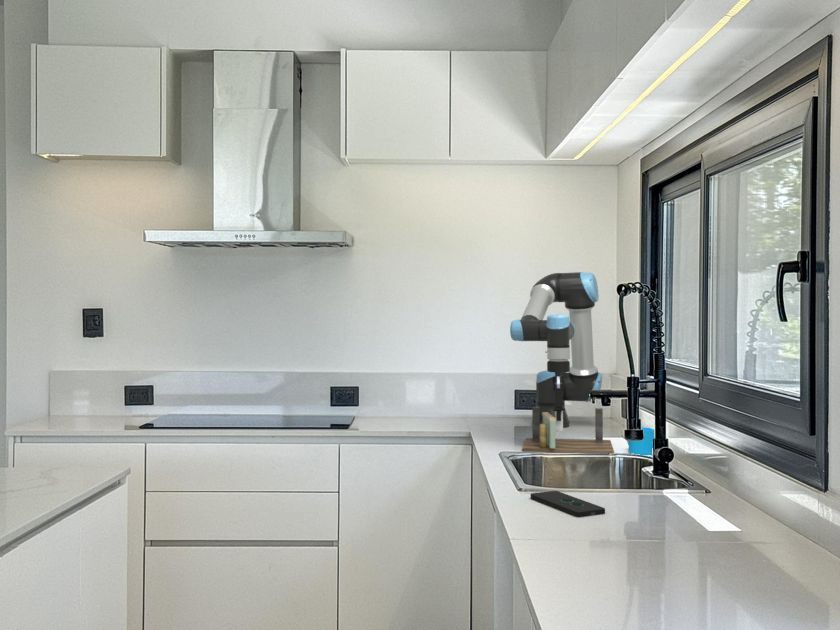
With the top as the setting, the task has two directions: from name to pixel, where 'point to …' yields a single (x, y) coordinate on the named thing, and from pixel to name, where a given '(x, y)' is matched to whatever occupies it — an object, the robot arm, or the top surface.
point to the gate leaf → (549, 428)
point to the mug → (643, 443)
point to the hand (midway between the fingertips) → (558, 430)
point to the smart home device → (567, 503)
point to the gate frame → (567, 445)
